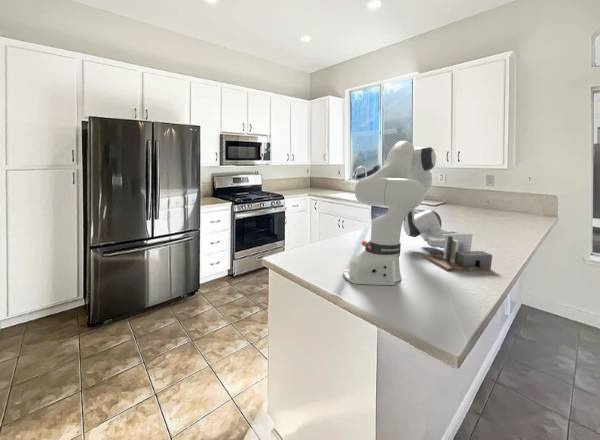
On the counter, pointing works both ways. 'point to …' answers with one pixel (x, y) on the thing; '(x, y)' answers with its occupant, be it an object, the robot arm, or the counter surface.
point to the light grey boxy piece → (462, 241)
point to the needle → (449, 248)
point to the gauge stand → (461, 259)
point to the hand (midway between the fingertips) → (458, 246)
